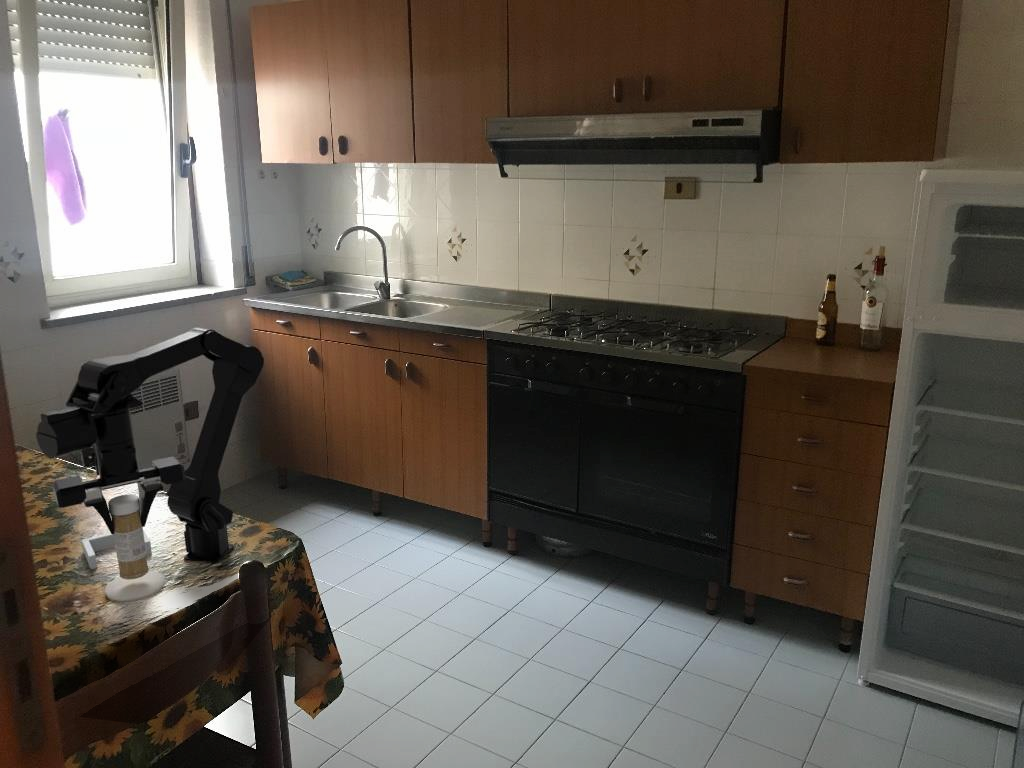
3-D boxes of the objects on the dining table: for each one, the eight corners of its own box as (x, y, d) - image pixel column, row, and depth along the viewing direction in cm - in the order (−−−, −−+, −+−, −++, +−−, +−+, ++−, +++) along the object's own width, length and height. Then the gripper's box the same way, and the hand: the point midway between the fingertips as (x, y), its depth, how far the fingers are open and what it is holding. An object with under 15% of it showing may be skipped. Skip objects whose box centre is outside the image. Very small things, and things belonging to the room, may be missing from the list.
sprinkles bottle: (142, 564, 140) (131, 491, 136) (154, 573, 137) (143, 498, 133) (114, 574, 137) (102, 499, 133) (126, 583, 134) (114, 507, 130)
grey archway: (83, 552, 150) (81, 539, 149) (142, 537, 156) (140, 525, 155) (91, 569, 144) (88, 556, 143) (151, 553, 149) (150, 541, 149)
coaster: (175, 576, 141) (175, 572, 141) (144, 604, 132) (143, 599, 132) (127, 572, 142) (127, 568, 142) (93, 599, 134) (92, 595, 134)
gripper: (164, 415, 142) (175, 499, 146) (40, 437, 132) (56, 527, 136) (180, 432, 133) (192, 521, 137) (50, 457, 123) (66, 552, 127)
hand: (127, 529), depth 135 cm, fingers closed on sprinkles bottle, 4 cm apart
